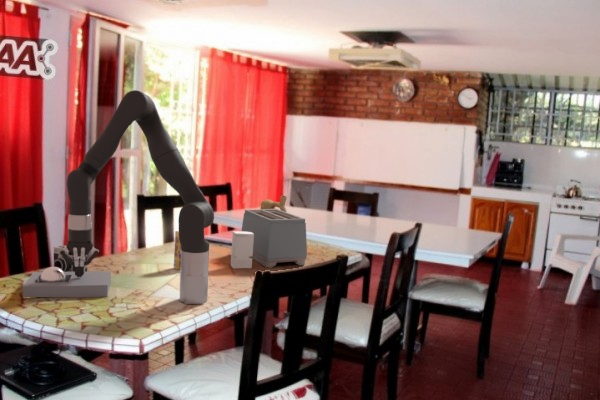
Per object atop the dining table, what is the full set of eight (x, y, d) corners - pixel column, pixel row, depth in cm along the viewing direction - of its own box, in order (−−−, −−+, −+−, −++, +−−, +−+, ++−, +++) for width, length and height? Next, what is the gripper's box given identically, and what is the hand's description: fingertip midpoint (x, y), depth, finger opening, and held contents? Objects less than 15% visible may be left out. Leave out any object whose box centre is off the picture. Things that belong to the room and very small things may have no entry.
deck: (107, 296, 195) (107, 285, 194) (22, 298, 188) (22, 286, 188) (110, 281, 212) (110, 271, 212) (33, 283, 206) (33, 272, 205)
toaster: (272, 248, 283) (274, 207, 281) (307, 265, 253) (309, 219, 250) (235, 250, 274) (237, 208, 271) (267, 268, 244) (269, 220, 241)
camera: (44, 271, 221) (45, 245, 220) (65, 268, 228) (66, 243, 227) (67, 278, 213) (68, 251, 212) (88, 275, 221) (89, 249, 220)
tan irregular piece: (273, 237, 310) (275, 190, 307) (296, 244, 295) (299, 195, 292) (246, 240, 299) (249, 192, 296) (269, 247, 284) (272, 197, 281)
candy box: (177, 270, 233) (178, 232, 231) (173, 267, 237) (174, 230, 235) (198, 268, 238) (199, 231, 236) (193, 265, 242) (195, 229, 240)
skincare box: (232, 269, 240) (234, 233, 238) (230, 265, 246) (231, 230, 244) (252, 268, 243) (254, 233, 241) (249, 265, 248) (251, 230, 246)
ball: (62, 268, 195) (36, 271, 193) (65, 291, 196) (39, 294, 194) (65, 262, 203) (41, 265, 201) (68, 285, 204) (44, 288, 202)
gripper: (57, 229, 193) (57, 279, 195) (99, 229, 196) (98, 279, 199) (60, 224, 200) (60, 273, 203) (101, 225, 204) (100, 273, 206)
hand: (79, 276), depth 201 cm, fingers closed
